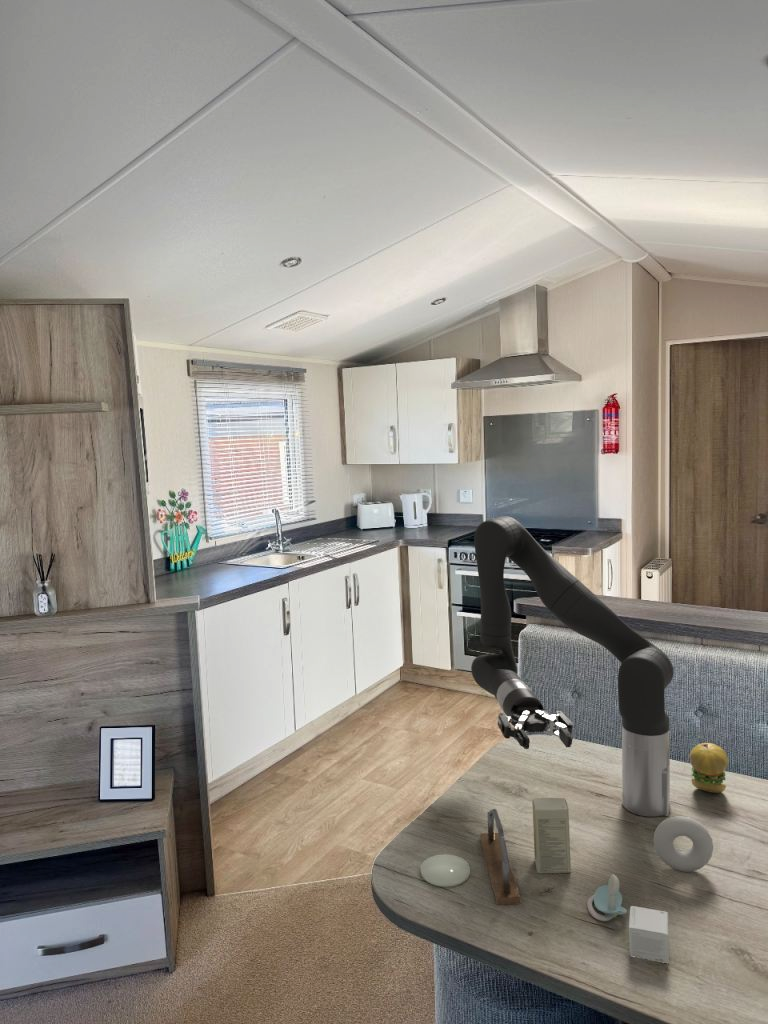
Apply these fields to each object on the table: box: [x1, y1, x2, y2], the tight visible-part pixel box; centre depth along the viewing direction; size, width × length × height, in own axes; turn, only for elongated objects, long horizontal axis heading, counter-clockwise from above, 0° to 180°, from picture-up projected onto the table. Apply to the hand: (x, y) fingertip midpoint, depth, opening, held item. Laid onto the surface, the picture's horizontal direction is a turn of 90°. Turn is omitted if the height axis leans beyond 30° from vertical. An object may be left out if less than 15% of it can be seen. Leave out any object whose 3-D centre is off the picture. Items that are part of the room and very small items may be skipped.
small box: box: [628, 905, 670, 965], centre depth 113 cm, size 6×6×5 cm
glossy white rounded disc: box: [420, 854, 471, 888], centre depth 135 cm, size 9×9×1 cm
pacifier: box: [586, 873, 628, 922], centre depth 122 cm, size 7×6×6 cm
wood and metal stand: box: [478, 808, 522, 906], centre depth 135 cm, size 20×4×10 cm, turn 1°
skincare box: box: [531, 797, 572, 874], centre depth 135 cm, size 6×4×12 cm
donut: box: [653, 815, 714, 873], centre depth 132 cm, size 10×4×10 cm, turn 74°
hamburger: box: [689, 742, 729, 794], centre depth 158 cm, size 8×7×12 cm
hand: (548, 744), depth 142 cm, fingers open, 8 cm apart
